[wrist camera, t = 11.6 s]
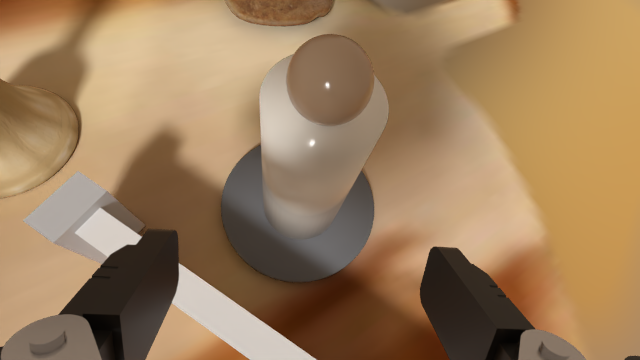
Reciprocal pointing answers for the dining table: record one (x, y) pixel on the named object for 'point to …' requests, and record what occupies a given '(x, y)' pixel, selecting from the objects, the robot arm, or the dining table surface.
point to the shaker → (317, 132)
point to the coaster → (286, 253)
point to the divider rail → (121, 229)
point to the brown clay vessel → (279, 11)
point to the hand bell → (33, 136)
